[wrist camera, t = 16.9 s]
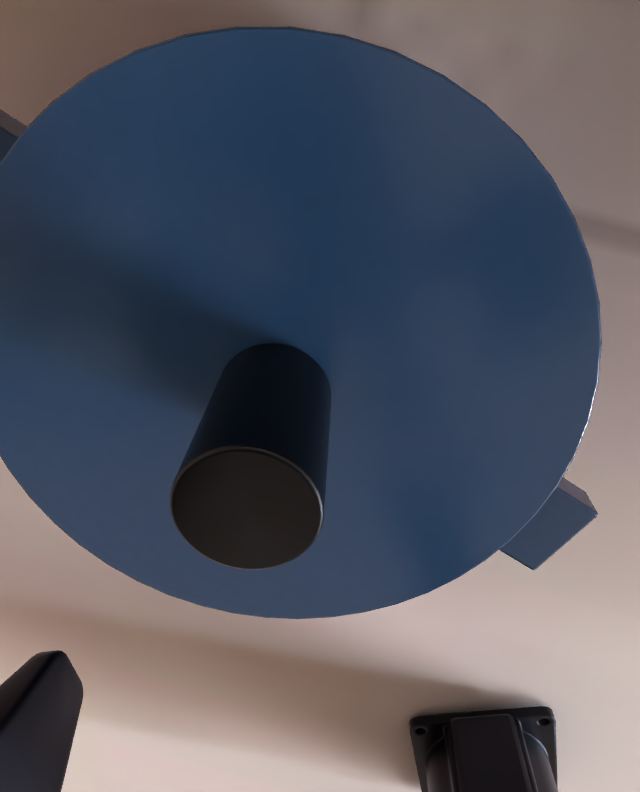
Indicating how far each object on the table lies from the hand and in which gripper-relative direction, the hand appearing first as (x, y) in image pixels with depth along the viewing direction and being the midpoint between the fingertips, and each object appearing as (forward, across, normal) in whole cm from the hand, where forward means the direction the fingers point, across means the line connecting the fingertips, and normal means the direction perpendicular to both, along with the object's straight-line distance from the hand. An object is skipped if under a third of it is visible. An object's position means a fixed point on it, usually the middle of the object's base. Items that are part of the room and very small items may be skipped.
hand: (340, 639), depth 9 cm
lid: (+5, +1, -2) cm, 6 cm away
